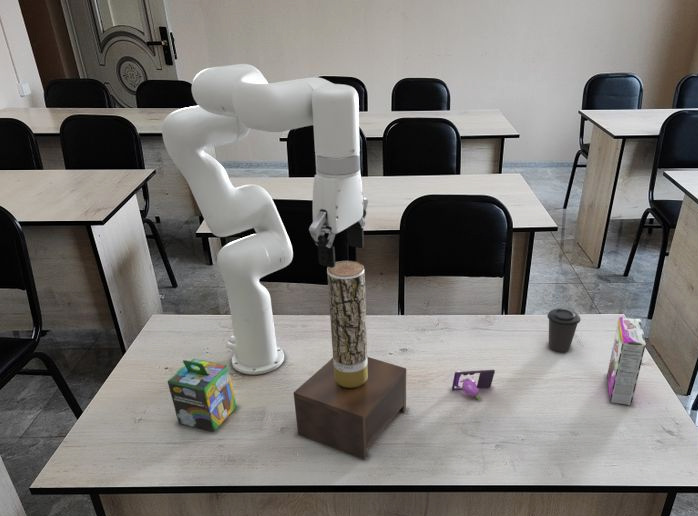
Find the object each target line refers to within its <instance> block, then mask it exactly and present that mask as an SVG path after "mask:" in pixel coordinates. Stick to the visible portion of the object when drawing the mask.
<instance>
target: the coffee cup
mask: <svg viewBox="0 0 698 516" xmlns="http://www.w3.org/2000/svg"><path fill="white" fill-rule="evenodd" d="M546 315H547V319H548V343H547V344H548V345H547V346H548V348H549V350H550V351H552V352H553V353H559V354H564V353H567V352H569V351H570V349H571V346H572V343H573V339H574V336H575V333H576V330H577V327H578V324H580V322H581V320H582V319H581V317H580V314H578V312H576V311H574V310H572V309H570V308H562V307H561V308H558V307H557V308H554V309H552V310H550V311H548V313H547V314H546Z"/></svg>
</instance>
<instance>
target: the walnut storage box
mask: <svg viewBox="0 0 698 516" xmlns="http://www.w3.org/2000/svg"><path fill="white" fill-rule="evenodd" d="M367 368H368V378H367V381H366V382H365V383H364V384H363V385H361V386H359V387H355V388H346V387H342V386H340V385H339V384H338V383H337V382H336V381H335V376H334V363H333V357H331V358H330V359H329V360H328V361H327V362H326V363H325V364H324V365H322V367H321V368H319V369H318V370H317V371H316V372H315V373H313V374H312V375H311V376H310V377H309V378H308V379H307V380H305V381H304V383H302V384H301V385H300V386H299V387H297V389H296V390H295V391H293V401H294V409H295V418H296V427H297V435H298V436H300V437H302V438H306V439H308V440H311V441H313V442H316V443H319V444H322V445H324V446H327V447H329V448H332V449H334V450H337V451H340V452H343V453H345V454H347V455H350V456H354V457H357V459H358V458H359V459H361V460H363V461H365V460H366V458H367V457H368V448H369V447H370V446H371V445H372V444H373V443H374V442H375V440H376V439H377V438H378V437H379V435H381V433H382V432H383V431H384V429H386V427H387V426H388V425H389V424H390V422H391V421H392V420H393V419H394V418H395V416H396V415H397V414H398V413H399V412H401V413H405V411H406V410H407V368H406V367H403V366H400V365H396V364H393V363H390V362H386V361H383V360H380V359H376V358H374V357H370V356H367Z"/></svg>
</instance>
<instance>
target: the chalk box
mask: <svg viewBox="0 0 698 516" xmlns="http://www.w3.org/2000/svg"><path fill="white" fill-rule="evenodd" d="M182 362H183V366H181V368H179V369H178V370H177V371H176V372H175V374H174V375H172V376H171V377H170V378H169V379H168V380H167V385H168V389H169V393H170V396H171V400H172V404H173V407H174V411H175V415H176V418H177V422H178V424H179V425H183V426H187V427H191V428H196V429H199V430H202V431H203V430H204V431H208V432H211V433H214V432H215V431H216V430H217V429H218V428H220V426H221V425H222V424H223V423H224V421H225V420H226V419H227V418H228V417H229V416H230V415H231V414H232V413H233V412H234V411H235V410H236V409H237V407H238V406H237V401H236V397H235V392H234V388H233V383H232V378H231V373H230V368H229V364H225V363H221V362H217V361H216V362H215V361H211V360H206V359H205V360H203V359H198V358H192V359H191V360H187V359H183V360H182Z"/></svg>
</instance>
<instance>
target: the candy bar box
mask: <svg viewBox="0 0 698 516" xmlns="http://www.w3.org/2000/svg"><path fill="white" fill-rule="evenodd" d="M617 319H618V320H617V325H616V328H615V329H616V330H615V334H614V339H613V343H612V344H613V345H612V348H611V355H610V359H609V363H608V369H607V373H606V379H607V387H608V395H609V396H608V398H609V403H610V404H615V405H624V406H632V404H633V399H634V395H635V391H636V389H637V388H636V387H637V383H638V379H639V374H640V372H641V367H642V363H643V358H644V353H645V350H646V346H647V345H646V339H645V334H644V329H643V324H642V320H641V318H633V317H625V316H618V318H617Z"/></svg>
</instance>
